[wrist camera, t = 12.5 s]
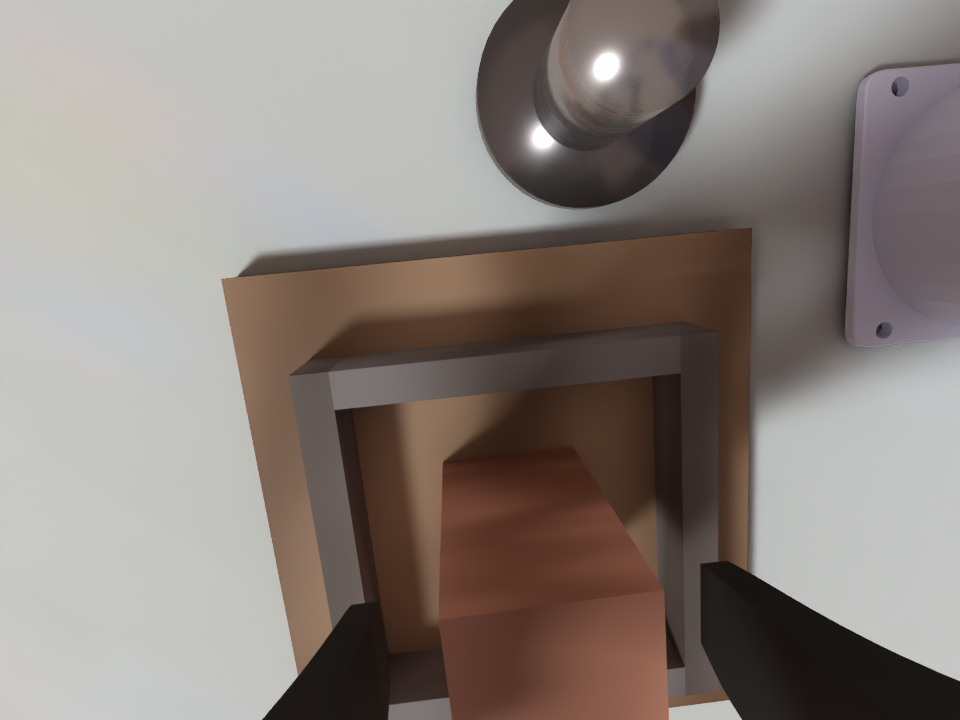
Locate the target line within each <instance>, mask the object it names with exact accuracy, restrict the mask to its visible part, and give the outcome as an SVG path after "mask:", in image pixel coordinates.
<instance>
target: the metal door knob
mask: <svg viewBox="0 0 960 720" xmlns="http://www.w3.org/2000/svg"><path fill="white" fill-rule="evenodd" d="M719 24H720V21H719V9H718V3H717V0H513V1H512V3H511V4H510V5H509V6H508V7H507V8H506V9H505V11H504V12H503V13H502V15H501V16H500V18H499V19H498V21H497V22H496V24H495V25H494V27H493V29H492V31H491V33H490V35H489V37H488V39H487V42H486V45H485V48H484V51H483V54H482V58H481V62H480V67H479V72H478V78H477V87H476V111H477V118H478V125H479V128H480V132H481V135H482V139H483V141H484V144H485V146H486V148H487V151H488V153H489V154H490V156H491V158H492V160H493V161H494V163H495V165H496V166H497V167H498V169H499V170H500V171H501V173H502V174H503V175H504V176H505V177H506V178H507V179H508V180H509V181H510V182H511V183H512V184H513V185H514V186H515V187H516V188H518V189H519V190H520V191H522V192H523V193H524V194H526V195H528V196H530V197H531V198H533V199H535V200H537V201H539V202H542V203H544V204H547V205H550V206H554V207H558V208H565V209H590V208H596V207H601V206H604V205H608V204H611V203H614V202H617V201H620V200H623V199H625V198H627V197H629V196H631V195H633V194H635V193H637V192H638V191H640V190H641V189H643V188H645V187H646V186H647V185H648V184H650V183H651V182H652V181H653V180H654V179H656V178H657V177H658V176H659V175H660V174H661V172H662V171H663V170H664V169H665V168H666V167H667V166H668V164H669V163H670V162H671V160H672V159H673V158H674V156H675V155H676V153H677V151H678V150H679V148H680V146H681V144H682V143H683V140H684V138H685V136H686V133H687V131H688V128H689V125H690V122H691V118H692V115H693V109H694V104H695V95H696V85H697V84H698V83H699V82H700V80H701V79H702V77H703V76H704V75H705V73H706V71H707V69H708V68H709V66H710V64H711V61H712V59H713V56H714V53H715V50H716V47H717V42H718V36H719Z"/></svg>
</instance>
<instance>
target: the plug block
mask: <svg viewBox="0 0 960 720" xmlns="http://www.w3.org/2000/svg"><path fill="white" fill-rule="evenodd" d="M438 622H439V629H440V636H441V643H442V650H443V657H444V665H445V672H446V679H447V686H448V693H449V700H450V708H451V715H452V720H669V711H668V683H667V656H666V628H665V601H664V589H663V587H662V586H661V584H660V583H659V581H658V580H657V578H656V576H655V575H654V573H653V572H652V570H651V569H650V567H649V565H648V564H647V562H646V561H645V559H644V557H643V556H642V554H641V553H640V551H639V550H638V548H637V546H636V545H635V543H634V542H633V540H632V539H631V537H630V535H629V534H628V532H627V531H626V529H625V527H624V526H623V524H622V523H621V521H620V520H619V518H618V516H617V515H616V513H615V512H614V510H613V509H612V507H611V505H610V504H609V502H608V501H607V499H606V498H605V496H604V494H603V493H602V491H601V490H600V488H599V486H598V485H597V483H596V482H595V480H594V479H593V477H592V475H591V474H590V472H589V471H588V469H587V468H586V466H585V464H584V463H583V461H582V460H581V458H580V456H579V455H578V453H577V452H576V450H575V449H574V447H573V446H569V447H561V448H553V449H544V450H536V451H528V452H520V453H512V454H503V455H495V456H487V457H479V458H471V459H462V460H454V461H446V462H443V471H442V506H441V541H440V576H439V611H438Z"/></svg>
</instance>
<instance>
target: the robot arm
mask: <svg viewBox="0 0 960 720" xmlns="http://www.w3.org/2000/svg"><path fill="white" fill-rule="evenodd" d="M893 82H895V84H896V85H897V88H898V92H897V95H896V96H895V95H894V94H893V93H892V89H891V87H892V84H893ZM880 323H881V324H882V330H881V332H880V333H879V335H876V329H877V327H878V326H879V325H880ZM845 337H846V339H847V341H848V342H849V343H850V344H852V345H854V346H858V347H865V348H867V347H877V346H886V345H896V344H905V343H915V342H924V341H933V340H943V339H952V338H960V63H955V64H943V65H931V66H920V67H908V68H896V69H885V70H880V71H877V72H875V73H872V74H870V75H868V76H867V77H865V78H864V79H863V80H862V81H861V83H860V85H859V87H858V91H857V103H856V122H855V142H854V161H853V181H852V200H851V220H850V239H849V259H848V278H847V298H846V317H845ZM700 598H701V644H702V646H703V649H704V651H705V653H706V655H707V657H708V659H709V661H710V664H711V666H712V668H713V670H714V672H715V674H716V676H717V678H718V680H719V682H720V684H721V686H722V688H723V690H724V691H725V693H726V695H727V696H728V698H729V699H730V701H731V703H732V704H733V706H734V707H735V709H736V711H737V712H738V714H739V715H740V717H741V719H742V720H960V681H958V680H955V679H953V678H951V677H948V676H946V675H943V674H941V673H939V672H936V671H934V670H932V669H930V668H927V667H925V666H923V665H921V664H918V663H916V662H914V661H912V660H910V659H907V658H905V657H903V656H901V655H898V654H896V653H894V652H892V651H890V650H888V649H886V648H884V647H882V646H880V645H878V644H876V643H874V642H872V641H870V640H868V639H866V638H864V637H862V636H860V635H858V634H856V633H854V632H852V631H851V630H849V629H847V628H845V627H843V626H841V625H839V624H837V623H835V622H834V621H832V620H830V619H828V618H826V617H824V616H823V615H821V614H819V613H817V612H816V611H814V610H812V609H810V608H809V607H807V606H805V605H803V604H802V603H800V602H798V601H796V600H795V599H793V598H791V597H790V596H788V595H786V594H784V593H783V592H781V591H779V590H778V589H776V588H774V587H773V586H771V585H769V584H768V583H766V582H764V581H762V580H761V579H759V578H757V577H756V576H754V575H752V574H751V573H749V572H747V571H745V570H744V569H742V568H740V567H738V566H736V565H735V564H733V563H731V562H729V561H719V562H710V563H702V564H700ZM390 685H391V679H390V672H389V666H388V659H387V652H386V646H385V639H384V633H383V626H382V620H381V613H380V606H379V602H370V603H362V604H353V605H350V607H349V608H348V609H347V610H346V612H345V613H344V614H343V616H342V617H341V619H340V620H339V621H338V623H337V624H336V626H335V627H334V629H333V630H332V631H331V633H330V634H329V636H328V637H327V638H326V640H325V641H324V643H323V644H322V645H321V647H320V648H319V649H318V651H317V652H316V654H315V655H314V656H313V657H312V659H311V660H310V661H309V663H308V664H307V665H306V667H305V668H304V669H303V671H302V672H301V673H300V675H299V676H298V677H297V678H296V680H295V681H294V682H293V683H292V685H291V686H290V687H289V688H288V690H287V691H286V692H285V693H284V694H283V696H282V697H281V698H280V699H279V700H278V702H277V703H276V704H275V705H274V706H273V707H272V709H271V710H270V711H269V712H268V713H267V715H266V716H265V717H264V718H263V719H262V720H388V714H389V700H390Z"/></svg>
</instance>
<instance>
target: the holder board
mask: <svg viewBox="0 0 960 720" xmlns="http://www.w3.org/2000/svg"><path fill="white" fill-rule="evenodd" d="M751 246H752V228H745V229H732V230H721V231H711V232H700V233H690V234H680V235H669V236H659V237H649V238H638V239H628V240H617V241H607V242H597V243H586V244H576V245H565V246H555V247H545V248H534V249H524V250H514V251H503V252H493V253H482V254H472V255H462V256H451V257H441V258H430V259H420V260H410V261H399V262H389V263H379V264H368V265H358V266H347V267H337V268H327V269H316V270H306V271H295V272H285V273H275V274H264V275H254V276H244V277H234V278H226V279H221V280H222V285H223V290H224V295H225V301H226V306H227V311H228V316H229V321H230V326H231V332H232V337H233V342H234V347H235V352H236V357H237V362H238V368H239V373H240V378H241V383H242V388H243V393H244V398H245V404H246V409H247V414H248V419H249V424H250V429H251V435H252V440H253V445H254V450H255V455H256V460H257V465H258V471H259V476H260V481H261V486H262V491H263V496H264V501H265V507H266V512H267V517H268V522H269V527H270V532H271V538H272V543H273V548H274V553H275V558H276V563H277V568H278V574H279V579H280V584H281V589H282V594H283V599H284V604H285V610H286V615H287V620H288V625H289V630H290V635H291V641H292V646H293V651H294V656H295V661H296V666H297V671H298V676H299V675H300V673H301V672H302V671H303V669H304V668H305V667H306V665H307V664H308V663H309V661H310V660H311V659H312V657H313V656H314V655H315V654H316V652H317V651H318V649H319V648H320V647H321V645H322V644H323V643H324V641H325V640H326V638H327V637H328V636H329V634H330V633H331V631H332V630H333V629H334V627H335V626H336V624H337V623H338V621H339V620H340V619H341V617H342V616H343V614H344V613H345V612H346V610H347V609H348V608H349V607H350V605H353V604H362V603H370V602H379V606H380V613H381V620H382V626H383V633H384V639H385V646H386V652H387V659H388V666H389V672H390V679H391V685H390V700H389V714H388V720H452V715H451V708H450V700H449V693H448V686H447V679H446V672H445V665H444V657H443V650H442V643H441V636H440V629H439V622H438V611H439V576H440V541H441V506H442V471H443V462H446V461H454V460H462V459H471V458H479V457H487V456H495V455H503V454H512V453H520V452H528V451H536V450H544V449H553V448H561V447H569V446H573V447H574V449H575V450H576V452H577V453H578V455H579V456H580V458H581V460H582V461H583V463H584V464H585V466H586V468H587V469H588V471H589V472H590V474H591V475H592V477H593V479H594V480H595V482H596V483H597V485H598V486H599V488H600V490H601V491H602V493H603V494H604V496H605V498H606V499H607V501H608V502H609V504H610V505H611V507H612V509H613V510H614V512H615V513H616V515H617V516H618V518H619V520H620V521H621V523H622V524H623V526H624V527H625V529H626V531H627V532H628V534H629V535H630V537H631V539H632V540H633V542H634V543H635V545H636V546H637V548H638V550H639V551H640V553H641V554H642V556H643V557H644V559H645V561H646V562H647V564H648V565H649V567H650V569H651V570H652V572H653V573H654V575H655V576H656V578H657V580H658V581H659V583H660V584H661V586H662V587H663V589H664V601H665V628H666V656H667V683H668V708H671V707H679V706H686V705H694V704H702V703H709V702H717V701H725V700H730V699H729V698H728V696H727V695H726V693H725V691H724V690H723V688H722V686H721V684H720V682H719V680H718V678H717V676H716V674H715V672H714V670H713V668H712V666H711V664H710V661H709V659H708V657H707V655H706V653H705V651H704V649H703V646H702V644H701V598H700V564H702V563H710V562H719V561H729V562H731V563H733V564H735V565H736V566H738V567H740V568H742V569H744V570H745V571H747V544H748V470H749V395H750V321H751Z"/></svg>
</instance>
